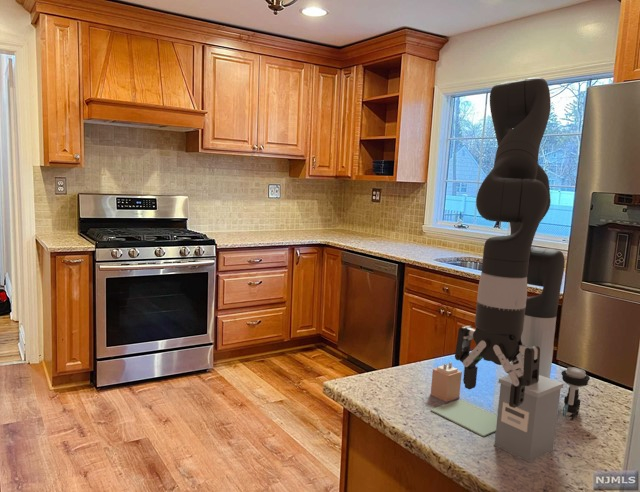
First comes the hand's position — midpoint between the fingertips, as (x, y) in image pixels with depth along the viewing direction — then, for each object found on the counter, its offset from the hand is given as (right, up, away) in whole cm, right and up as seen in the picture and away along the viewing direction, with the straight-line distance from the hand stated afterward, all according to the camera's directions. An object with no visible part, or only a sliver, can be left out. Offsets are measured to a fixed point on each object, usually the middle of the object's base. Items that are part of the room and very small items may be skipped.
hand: (491, 396), depth 87 cm
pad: (+3, -10, +20) cm, 23 cm away
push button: (+24, -11, +23) cm, 35 cm away
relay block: (0, -9, +31) cm, 32 cm away
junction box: (+9, -12, +9) cm, 17 cm away
